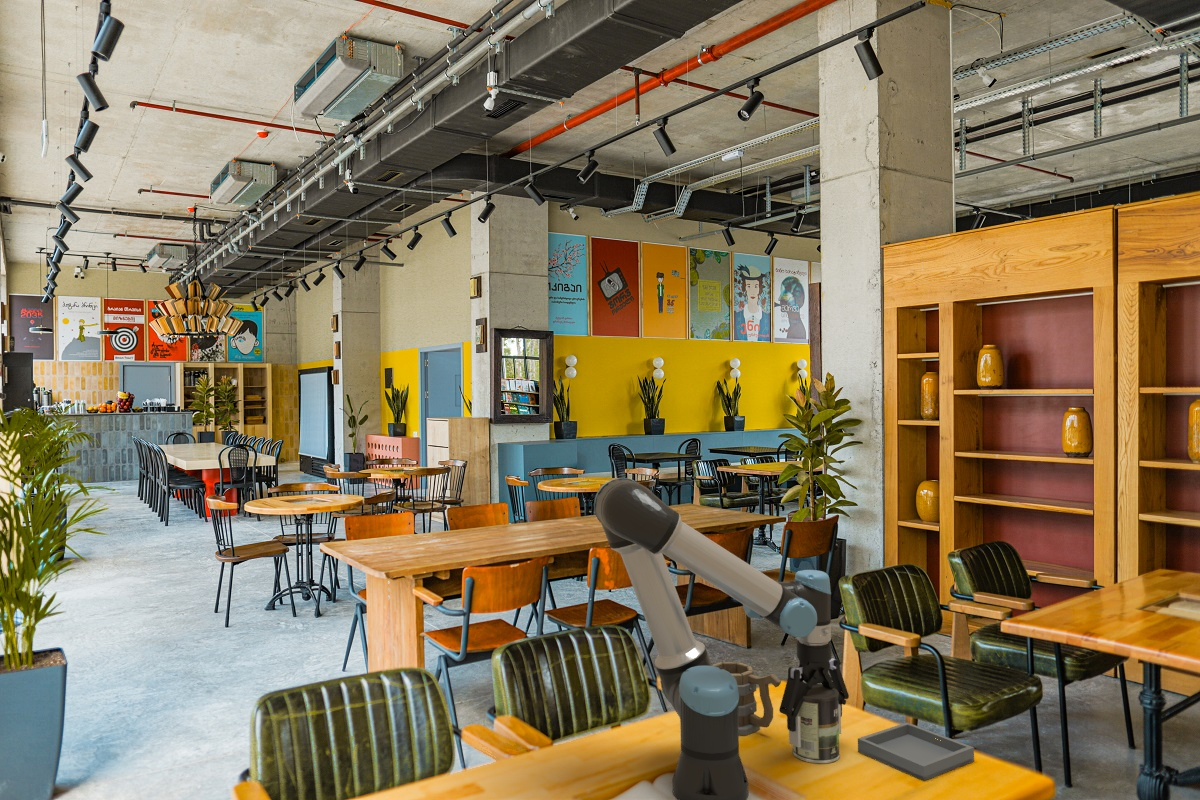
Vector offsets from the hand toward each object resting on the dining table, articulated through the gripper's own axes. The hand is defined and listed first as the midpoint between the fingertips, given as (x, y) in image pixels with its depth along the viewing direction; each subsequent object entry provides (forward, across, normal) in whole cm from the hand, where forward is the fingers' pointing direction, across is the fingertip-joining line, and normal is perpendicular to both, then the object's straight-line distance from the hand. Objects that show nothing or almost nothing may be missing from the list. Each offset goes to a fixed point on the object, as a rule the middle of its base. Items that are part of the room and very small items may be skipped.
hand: (815, 738), depth 178 cm
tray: (+3, +17, -13) cm, 22 cm away
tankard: (+4, -4, +19) cm, 20 cm away
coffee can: (+4, 0, 0) cm, 4 cm away
